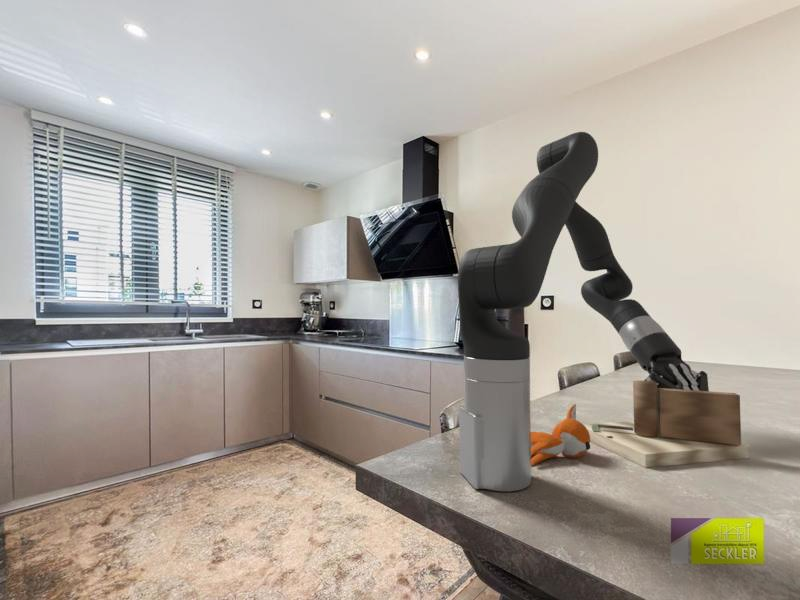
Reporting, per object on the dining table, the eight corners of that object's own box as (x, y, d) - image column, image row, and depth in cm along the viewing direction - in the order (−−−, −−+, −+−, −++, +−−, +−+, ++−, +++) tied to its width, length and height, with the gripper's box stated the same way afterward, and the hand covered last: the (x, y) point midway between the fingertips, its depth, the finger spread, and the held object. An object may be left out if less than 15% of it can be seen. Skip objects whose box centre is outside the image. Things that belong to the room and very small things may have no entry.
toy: (558, 444, 55) (603, 408, 64) (445, 413, 72) (494, 388, 81) (564, 498, 55) (608, 454, 65) (451, 454, 73) (499, 424, 82)
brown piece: (598, 430, 69) (597, 380, 70) (597, 425, 73) (596, 377, 73) (743, 446, 61) (741, 390, 62) (734, 439, 65) (732, 386, 65)
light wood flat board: (645, 467, 59) (645, 452, 59) (576, 435, 74) (576, 423, 74) (749, 458, 63) (748, 444, 63) (663, 429, 78) (663, 418, 78)
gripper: (631, 331, 74) (691, 411, 62) (686, 330, 77) (755, 407, 65) (610, 355, 79) (663, 433, 67) (663, 354, 82) (723, 429, 70)
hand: (708, 420), depth 66 cm, fingers closed
